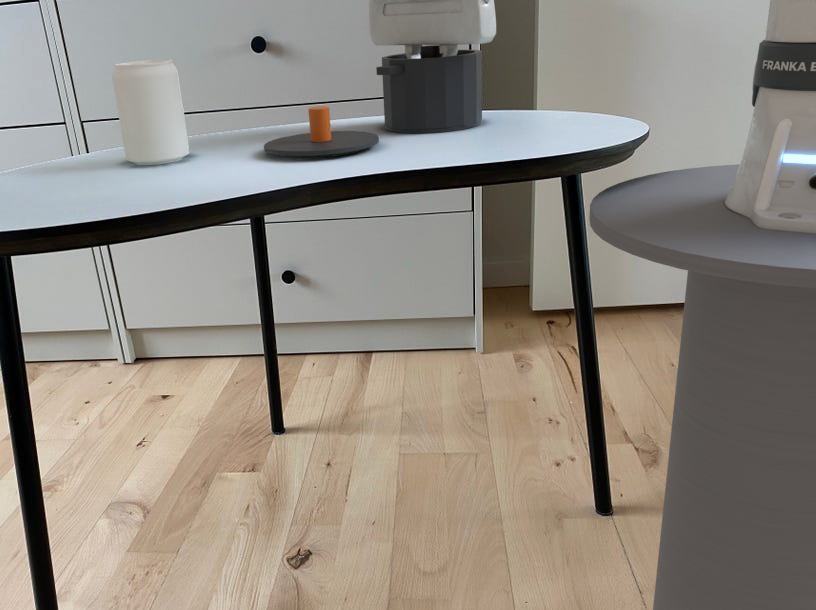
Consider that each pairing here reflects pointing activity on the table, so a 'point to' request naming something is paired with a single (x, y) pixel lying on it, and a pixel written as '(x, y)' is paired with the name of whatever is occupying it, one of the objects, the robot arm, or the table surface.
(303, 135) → the lid
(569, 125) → the table surface
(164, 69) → the beverage can
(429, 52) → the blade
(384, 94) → the pot
